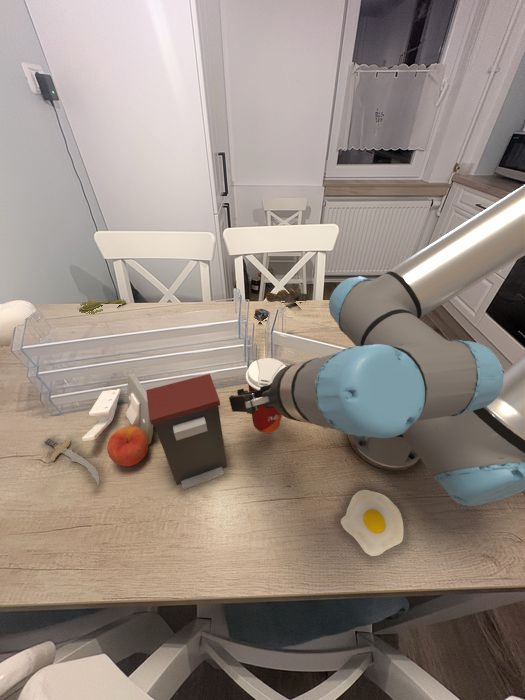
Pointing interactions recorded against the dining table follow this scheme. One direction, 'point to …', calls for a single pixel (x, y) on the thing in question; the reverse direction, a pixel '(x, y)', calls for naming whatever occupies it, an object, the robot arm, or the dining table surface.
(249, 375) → the paper cup
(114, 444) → the apple
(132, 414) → the light switch
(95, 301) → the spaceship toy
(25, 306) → the skull
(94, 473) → the sword
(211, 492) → the dining table surface
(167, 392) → the red-topped box
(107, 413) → the white long bent piece
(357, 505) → the cracked egg
